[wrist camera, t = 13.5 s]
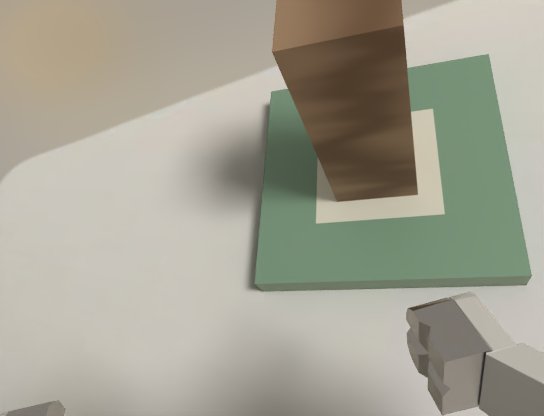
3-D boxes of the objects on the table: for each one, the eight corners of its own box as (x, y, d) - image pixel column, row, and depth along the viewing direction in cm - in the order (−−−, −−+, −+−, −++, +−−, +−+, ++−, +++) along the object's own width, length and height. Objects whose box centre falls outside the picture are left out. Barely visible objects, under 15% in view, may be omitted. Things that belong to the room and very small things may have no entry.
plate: (263, 291, 27) (254, 283, 25) (277, 105, 33) (271, 91, 31) (526, 285, 22) (531, 275, 21) (486, 71, 28) (488, 53, 27)
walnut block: (337, 202, 26) (272, 51, 16) (337, 138, 28) (279, -33, 18) (418, 194, 25) (403, 25, 14) (412, 128, 27) (395, -63, 16)
